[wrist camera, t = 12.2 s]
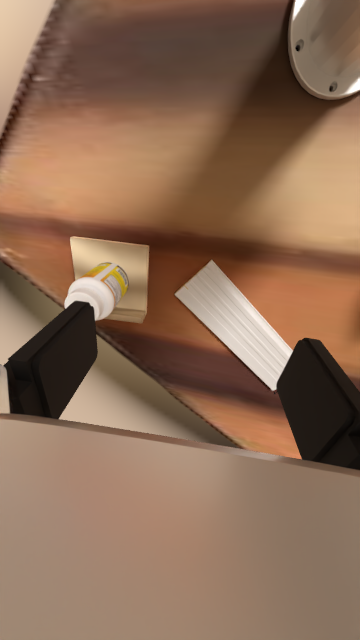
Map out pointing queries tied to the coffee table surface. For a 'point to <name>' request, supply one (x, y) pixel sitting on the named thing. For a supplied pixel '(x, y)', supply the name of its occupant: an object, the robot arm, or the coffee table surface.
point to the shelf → (127, 257)
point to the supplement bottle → (100, 288)
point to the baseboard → (236, 322)
